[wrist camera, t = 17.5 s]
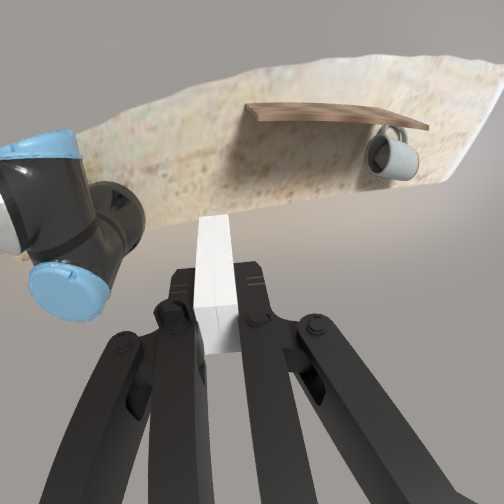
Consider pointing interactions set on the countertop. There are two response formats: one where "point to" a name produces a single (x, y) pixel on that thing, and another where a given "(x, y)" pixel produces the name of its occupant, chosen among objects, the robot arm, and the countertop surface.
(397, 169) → the ceramic mug
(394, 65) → the countertop surface
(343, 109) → the wooden board
